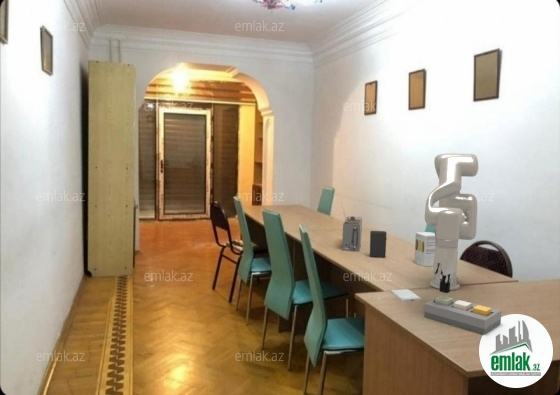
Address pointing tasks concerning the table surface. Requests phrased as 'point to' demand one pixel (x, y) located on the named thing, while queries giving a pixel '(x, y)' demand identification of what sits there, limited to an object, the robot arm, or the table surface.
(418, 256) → the supplement box
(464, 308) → the middle key
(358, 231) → the portable television
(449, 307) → the key console
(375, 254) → the card reader
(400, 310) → the table surface
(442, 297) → the sage key
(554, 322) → the table surface
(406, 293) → the hard drive
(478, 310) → the amber key
